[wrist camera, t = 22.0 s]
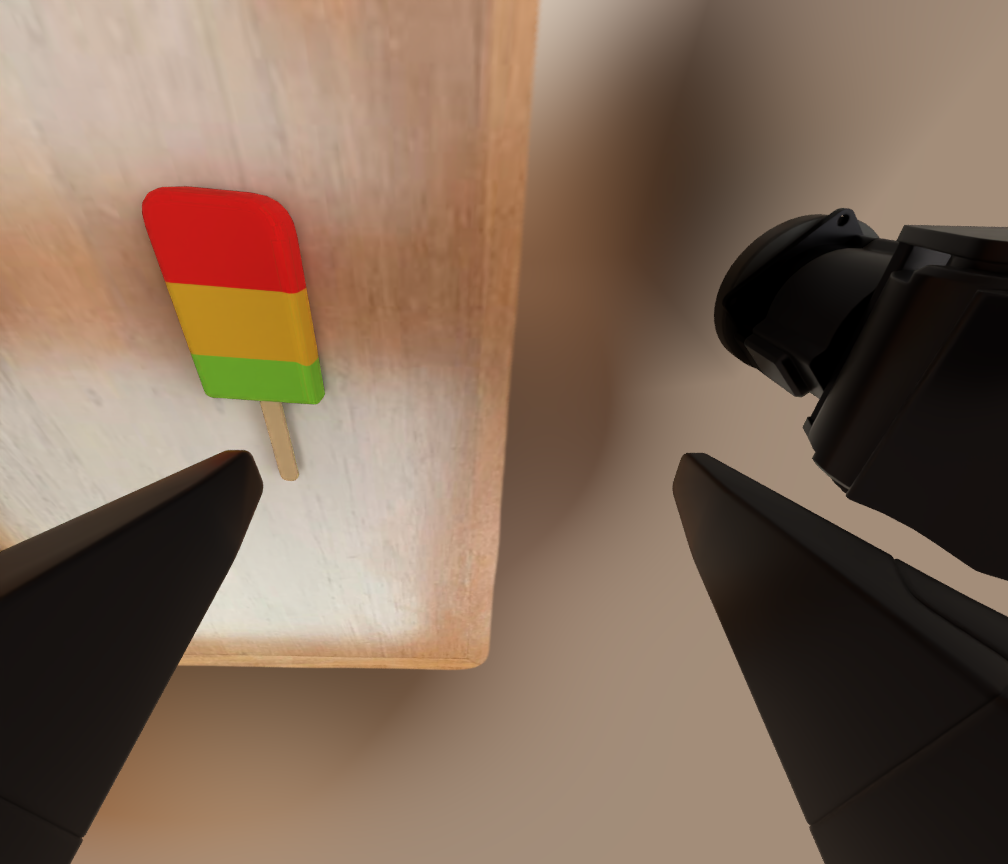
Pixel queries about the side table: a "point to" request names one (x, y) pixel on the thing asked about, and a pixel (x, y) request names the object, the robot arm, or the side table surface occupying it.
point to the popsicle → (239, 299)
